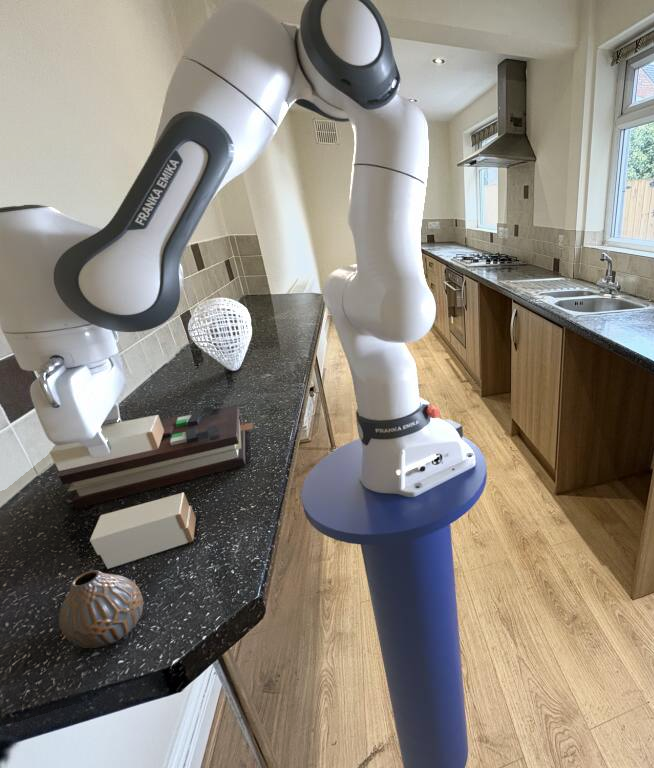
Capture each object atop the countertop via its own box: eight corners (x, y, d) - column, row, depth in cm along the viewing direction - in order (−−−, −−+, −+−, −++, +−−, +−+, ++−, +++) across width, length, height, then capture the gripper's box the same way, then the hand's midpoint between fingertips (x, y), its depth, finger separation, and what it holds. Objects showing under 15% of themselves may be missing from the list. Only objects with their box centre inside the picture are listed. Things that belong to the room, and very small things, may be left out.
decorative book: (72, 430, 81) (248, 397, 95) (88, 462, 84) (256, 425, 98) (33, 480, 66) (249, 432, 80) (54, 517, 69) (258, 464, 83)
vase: (80, 626, 51) (48, 573, 47) (151, 596, 54) (127, 546, 51) (69, 671, 46) (33, 616, 42) (149, 635, 49) (122, 582, 46)
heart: (264, 379, 126) (245, 307, 117) (203, 390, 118) (178, 314, 109) (260, 354, 147) (244, 292, 139) (208, 362, 140) (188, 297, 131)
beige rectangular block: (196, 518, 68) (185, 491, 66) (193, 541, 64) (182, 513, 61) (114, 543, 63) (100, 514, 61) (105, 570, 58) (89, 540, 56)
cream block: (164, 430, 62) (158, 414, 61) (158, 448, 57) (151, 431, 56) (72, 450, 57) (64, 432, 56) (58, 471, 52) (48, 452, 51)
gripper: (77, 366, 45) (123, 472, 50) (118, 325, 60) (149, 409, 66) (-9, 377, 41) (51, 489, 47) (58, 331, 57) (97, 419, 63)
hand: (109, 442), depth 56 cm, fingers closed on cream block, 6 cm apart
